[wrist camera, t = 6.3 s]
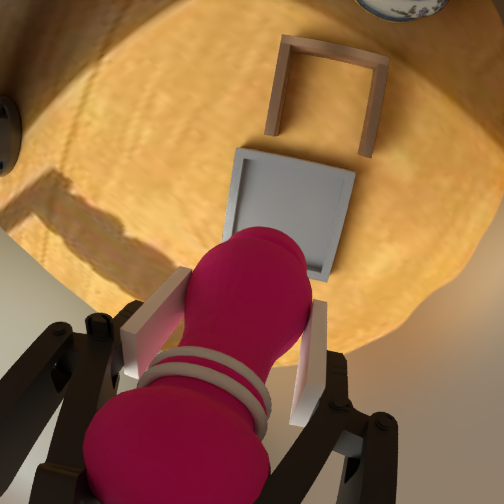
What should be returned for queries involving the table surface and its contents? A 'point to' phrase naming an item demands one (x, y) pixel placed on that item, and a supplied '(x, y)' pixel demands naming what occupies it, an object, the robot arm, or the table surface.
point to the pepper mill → (207, 384)
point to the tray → (290, 202)
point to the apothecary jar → (401, 9)
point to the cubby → (339, 54)
